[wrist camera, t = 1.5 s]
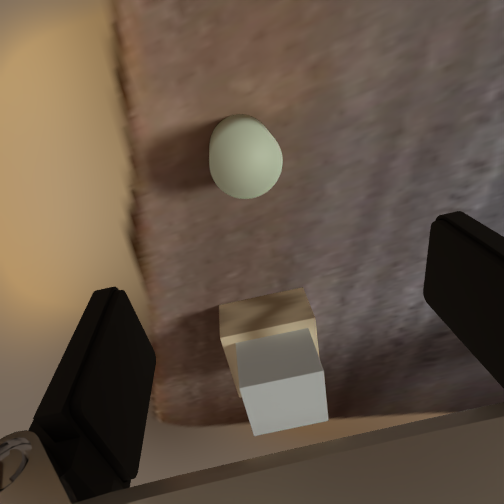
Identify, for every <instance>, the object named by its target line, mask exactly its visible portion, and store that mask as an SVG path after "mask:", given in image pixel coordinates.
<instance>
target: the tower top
mask: <svg viewBox="0 0 504 504" xmlns="http://www.w3.org/2000/svg"><path fill="white" fill-rule="evenodd" d="M236 354H237V366H238V377H239V388H240V392H241V395H242V398H243V402H244V405H245V408H246V411H247V415H248V418H249V421H250V425H251V427H252V431H253V434H254V436H258V435H262V434H267V433H272V432H277V431H281V430H286V429H291V428H295V427H301V426H306V425H310V424H315V423H320V422H325V421H328V410H327V400H326V389H325V378H324V370H323V367H322V364H321V362H320V359H319V356H318V353H317V351H316V348H315V345H314V342H313V340H312V337H311V334H310V331H309V328H305V329H300V330H296V331H291V332H286V333H281V334H276V335H272V336H267V337H262V338H257V339H252V340H248V341H243V342H238V343H236Z"/></svg>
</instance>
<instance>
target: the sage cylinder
mask: <svg viewBox="0 0 504 504" xmlns="http://www.w3.org/2000/svg"><path fill="white" fill-rule="evenodd" d="M282 162H283V161H282V153H281V150H280V147H279V145H278V143H277V141H276V140H275V139H274V137H273V136H272V135H271V134H270V132H269V131H268V130H267V129H266V127H265V126H264V125H263V124H262V123H261V122H260V121H259V120H257V119H256V118H254V117H252V116H249V115H245V114H236V115H232V116H229V117H227V118H225V119H223V120H222V121H221V122H220V123H219V124H218V125H217V126H216V127H215V129H214V130H213V132H212V135H211V138H210V144H209V167H210V172H211V175H212V178H213V180H214V182H215V183H216V185H217V186H218V187H219V188H220V189H221V190H222V191H223V192H225V193H226V194H228V195H230V196H232V197H235V198H240V199H250V198H255V197H258V196H261V195H263V194H264V193H266V192H267V191H269V190H270V189H271V188H272V187H273V186H274V184H275V183H276V182H277V180H278V178H279V176H280V173H281V170H282Z"/></svg>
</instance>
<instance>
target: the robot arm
mask: <svg viewBox="0 0 504 504" xmlns="http://www.w3.org/2000/svg"><path fill="white" fill-rule="evenodd" d="M423 294H424V298H425V300H426V302H427V303H428V305H429V306H430V307H431V308H432V309H433V310H434V311H435V312H436V313H437V315H438V316H439V317H440V318H441V319H442V320H443V321H444V322H445V324H446V325H447V326H448V327H449V328H450V329H451V330H452V331H453V332H454V334H455V335H456V336H457V337H458V338H459V339H460V340H461V341H462V342H463V344H464V345H465V346H466V347H467V348H468V349H469V350H470V351H471V353H472V354H473V355H474V356H475V357H476V358H477V359H478V360H479V361H480V363H481V364H482V365H483V366H484V367H485V368H486V369H487V370H488V371H489V373H490V374H491V375H492V376H493V377H494V378H495V379H496V380H497V382H498V383H499V384H500V385H501V386H502V387H503V388H504V237H503V236H501V235H500V234H498V233H496V232H495V231H493V230H491V229H490V228H488V227H486V226H485V225H483V224H481V223H480V222H478V221H476V220H475V219H473V218H472V217H470V216H468V215H467V214H465V213H463V212H461V211H457V212H453V213H448V214H444V215H440V216H438V217H437V219H436V221H434V222H433V223H432V224H431V229H430V238H429V246H428V255H427V263H426V272H425V280H424V289H423ZM155 365H156V356H155V352H154V350H153V348H152V346H151V343H150V341H149V339H148V337H147V335H146V333H145V331H144V329H143V327H142V325H141V323H140V321H139V319H138V317H137V315H136V313H135V311H134V309H133V307H132V305H131V303H130V300H129V299H128V296H127V294H126V293H125V291H124V290H118V288H116V287H110V288H105V289H101V290H97V291H94V293H93V294H92V297H91V298H90V301H89V303H88V305H87V307H86V309H85V311H84V313H83V315H82V317H81V319H80V321H79V324H78V326H77V328H76V330H75V332H74V334H73V336H72V338H71V340H70V342H69V344H68V346H67V349H66V351H65V353H64V355H63V357H62V359H61V361H60V363H59V365H58V368H57V369H56V372H55V374H54V376H53V378H52V380H51V382H50V384H49V386H48V388H47V391H46V393H45V395H44V397H43V399H42V401H41V403H40V405H39V407H38V409H37V411H36V413H35V416H34V418H33V419H34V420H33V422H32V424H31V426H30V428H29V430H28V431H27V430H25V431H18V432H14V433H12V434H10V435H7V436H5V437H3V438H1V439H0V504H504V402H502V403H498V404H493V405H489V406H484V407H479V408H475V409H470V410H466V411H461V412H457V413H452V414H447V415H443V416H438V417H434V418H429V419H425V420H420V421H416V422H411V423H407V424H403V425H398V426H393V427H389V428H385V429H380V430H375V431H371V432H367V433H362V434H358V435H353V436H349V437H344V438H340V439H336V440H331V441H327V442H322V443H318V444H313V445H309V446H305V447H300V448H295V449H291V450H287V451H282V452H278V453H274V454H269V455H265V456H260V457H256V458H252V459H247V460H243V461H239V462H234V463H230V464H226V465H221V466H217V467H213V468H208V469H204V470H200V471H196V472H191V473H187V474H182V475H178V476H174V477H170V478H166V479H162V480H158V481H154V482H150V483H146V484H142V485H138V486H134V487H130V482H131V479H134V478H135V477H136V475H137V473H138V468H139V461H140V456H141V450H142V444H143V438H144V431H145V426H146V419H147V413H148V407H149V401H150V395H151V389H152V383H153V377H154V371H155Z"/></svg>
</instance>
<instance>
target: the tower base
mask: <svg viewBox="0 0 504 504" xmlns="http://www.w3.org/2000/svg"><path fill="white" fill-rule="evenodd" d="M219 323H220V340H221V343H222V346H223V349H224V352H225V355H226V358H227V361H228V364H229V367H230V371H231V374H232V377H233V380H234V383H235V386H236V389H237V392H238V395H239V398H240V397H242V395H241V392H240V388H239V377H238V366H237V354H236V343H238V342H243V341H248V340H252V339H257V338H262V337H267V336H272V335H276V334H281V333H286V332H291V331H296V330H300V329H305V328H309V331H310V334H311V337H312V340H313V342H314V345H315V348H316V351H317V353H318V356H319V349H318V340H317V331H316V322H315V316H314V314H313V311H312V309H311V306H310V304H309V301H308V299H307V297H306V294H305V292H304V289H303V287H302V288H297V289H292V290H288V291H283V292H278V293H274V294H269V295H264V296H260V297H255V298H250V299H246V300H241V301H236V302H232V303H227V304H222V305H219Z"/></svg>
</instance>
